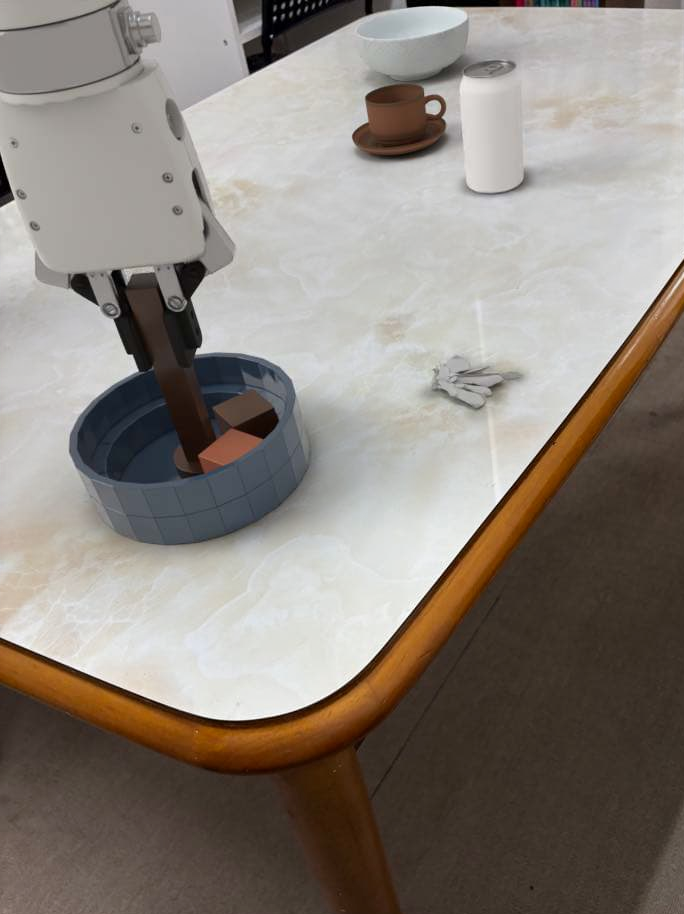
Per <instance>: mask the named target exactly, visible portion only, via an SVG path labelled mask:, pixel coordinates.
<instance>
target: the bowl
mask: <svg viewBox="0 0 684 914" xmlns="http://www.w3.org/2000/svg"><path fill="white" fill-rule="evenodd" d="M192 364H193V367H194V370H195V373H196V376H197V380H198V383H199V386H200V389H201V392H202V395H203V398H204V401H205V404H206V408H207V411H208V414H209V417H210V420H211V423H212V426H213V429H214V432H215V434H220V435H221V432H220V429H219V426H218V423H217V420H216V418H215V415H214V412H213V409H212V407H214V406H216V405H219V404H221V403H223V402H225V401H227V400H229V399H231V398H234V397H236V396H238V395H240V394H242V393H244V392H246V391H248V390H251V389H254V390H255V391H256V392H257V393H259V394H260V395H261V396H262V397H263V398H264V399H265V400H266V401H268V402H269V403H270V404H271V405H272V406H273V407H274V408H275V412H276V415H277V419H278V424H277V426H276V428H275V429H274V430H273V431H272V432H271V433H270V434H269V435H268V436H267V437H266V438H265V439H264V440H263V441H262V442H261V443H260V444H259V445H258V446H257V447H255V448H253V449H252V450H250V451H249V452H247V453H246V454H244V455H242V456H241V457H239V458H238V459H236V460H235V461H233V462H231V463H228V464H226V465H224V466H221V467H219V468H217V469H214V470H212V471H210V472H207V473H205V474H201V475H197V476H193V477H189V478H185V479H182V478H180V476H179V475H178V472H177V470H176V467H175V464H174V461H173V455H174V452H175V450H176V449H177V447H178V446H179V445H180V441H179V438H178V435H177V433H176V430H175V427H174V424H173V422H172V419H171V416H170V413H169V411H168V408H167V405H166V402H165V400H164V397H163V394H162V391H161V389H160V386H159V383H158V380H157V378H156V375H155V372H154V369H153V367H152V368H151V369H149V371H148V372H139V370H138V371H135V372H133V373H132V374H130V375H128V376H127V377H123V378H122V379H121V380H119V381H117V382H115V383H113V384H112V385H111V386H109V387H108V388H107V389H105V390H104V391H102V392H101V393H100V394H99V395H97V396H96V397H95V398H94V399H93V400H92V401H91V402H90V403H89V404H88V405H87V406H86V408H85V409H84V410H83V411H82V412H81V413H80V414H79V415H78V416H77V419H76V421H75V423H74V425H73V427H72V429H71V431H70V433H69V441H68V454H69V456H70V458H71V460H72V463H73V466H74V467H75V469H76V471H77V473H78V475H79V478H80V479H81V481H82V483H83V485H84V487H85V489H86V491H87V493H88V495H89V497H90V499H91V501H92V503H93V506H94V508H95V509H96V511H97V513H98V515H99V517H100V519H101V520H102V521H103V523H105V524H106V525H107V526H108V527H110V529H112V530H113V531H114V532H115V533H117V534H119V535H121V536H123V537H126V538H129V539H131V540H134V541H137V542H139V543H147V544H155V545H165V546H168V545H179V544H190V543H191V544H192V543H199V542H202V541H203V542H204V541H207V540H210V539H214V538H218V537H222V536H227V534H230V533H232V532H233V533H234V532H235V531H237V530H240V529H241V528H244V527H246V526H248V525H251V524H252V523H255V522H257V521H259V520H260V519H261V518H263V517H264V516H266V515H267V514H268V513H270V512H271V511H273V510H275V509H276V508H277V507H279V506H280V505H281V504H282V503H283V502H284V501H285V500H286V499H287V498H288V497H289V496H290V494H292V493H293V492H294V490H295V489H296V488H297V487H298V486H299V484H300V482H301V481H302V478H303V476H304V474H305V473H306V471H307V469H308V467H309V460H310V452H311V447H310V444H309V439H308V435H307V431H306V427H305V424H304V420H303V416H302V412H301V408H300V405H299V399H298V396H297V393H296V389H295V386H294V382H293V379H292V378H291V377H290V376H289V375H288V373H286V372H285V371H284V369H282V367H280V366H279V365H277V364H275V363H273V362H271V361H270V360H267V359H265V358H263V357H259V356H255V355H251V354H246V353H242V352H219V351H218V352H207V353H198V354H196V353H195V357H194V360H193V363H192Z"/></svg>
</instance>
